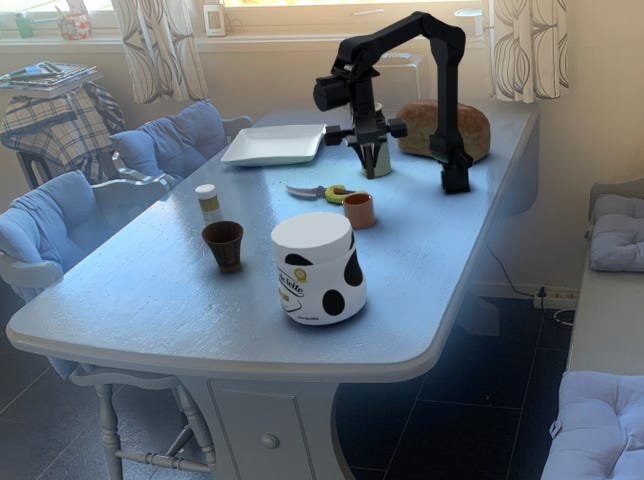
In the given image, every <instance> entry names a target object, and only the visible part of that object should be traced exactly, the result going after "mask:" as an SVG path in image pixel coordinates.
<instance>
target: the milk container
mask: <svg viewBox="0 0 644 480" xmlns="http://www.w3.org/2000/svg"><path fill="white" fill-rule="evenodd" d="M270 239H271V246H272V252H273V258H274V262H275V266H276V269H277V273H278V285H277V286H278V287H277V291H278V293H277V294H278V299H279V302H280V306H281V308H282V309H283V312H284V314H285V315H286V316H287V317H288V318H289V319H290V320H291V321H293V322H294V323H297V324H300V325H303V326H309V327H318V328H319V327H324V326H325V327H326V326H334V325H336V324H339V323H342V322H346V321H347V320H349V319H351V318H352V317H354V316H355V315H357V314H358V313H359V312H360V311H361V310H362V309H363V307H365V306H364V305H365V303H366V301H367V295H368V286H367V279H366V277H365V274H364V272H363V269H362V268H361V265H360V263H359V259H358V252H357V243H356V240H355V234H354V229H353V228H352V227H351V224H350V222H349V219H347V218H346V217H345V215H344V214H341V213H336V212H334V211H333V212H332V211H312V212H311V211H310V212H304V213H301V214H297V215H293V216H291V217H289V218H286V219H283V220H282V221H281V222H280V223H278V224H277V225H275V226H274V227H273V229H272V231H271V233H270Z"/></svg>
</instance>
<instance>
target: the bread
mask: <svg viewBox="0 0 644 480" xmlns="http://www.w3.org/2000/svg"><path fill="white" fill-rule="evenodd" d="M394 118H403V119H404V120H405V123H406V125H407V131H408V136H407V137H401V138H396V143H397V147H398V149H399V150H400V151H402V152H403V153H407V154H411V155H421V156H426V157H430V158H434V157H433V156H432V154H431V150H429V146H430V140H429V135H430V134H434V132H435V131H436V129H437V126H438V100H437V99H417V100H415V101H411V102H407V103H406V104H404V105H403V106H401V107H399V109H398V110H397V112H396V113H395V115H394ZM458 129H459V131H460V133H461V135H462V138H463V141H464V149H465V152H466V153H467V154H469V155H470V156H471V157H472V158H474V161H473V163H475V162H478V161H480V160H481V159H483V158H484V157H485V156H486V155H487V154H488V153H489V152H490V149H491V141H492V136H491V135H492V134H491V123H490V121H489V118H488V117H487V116H486V115H485V113H484V112H483V111H481V110H480V109H478V108H476V107H474V106H471V105H467V104H464V103H461V102H458Z"/></svg>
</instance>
